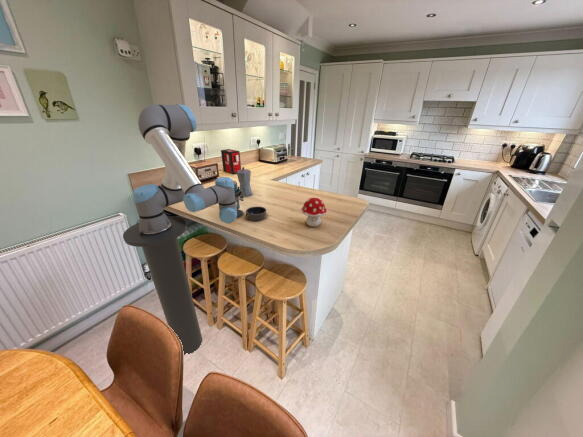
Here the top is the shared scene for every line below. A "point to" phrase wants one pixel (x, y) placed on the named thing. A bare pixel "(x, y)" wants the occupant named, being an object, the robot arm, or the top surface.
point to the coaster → (239, 213)
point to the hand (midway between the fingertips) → (231, 189)
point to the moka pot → (244, 181)
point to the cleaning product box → (231, 161)
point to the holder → (256, 213)
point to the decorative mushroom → (314, 211)
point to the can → (236, 192)
